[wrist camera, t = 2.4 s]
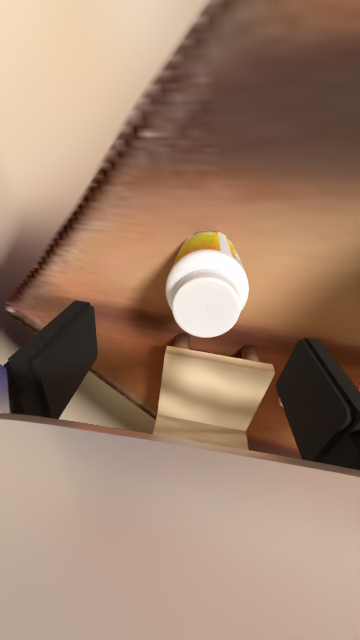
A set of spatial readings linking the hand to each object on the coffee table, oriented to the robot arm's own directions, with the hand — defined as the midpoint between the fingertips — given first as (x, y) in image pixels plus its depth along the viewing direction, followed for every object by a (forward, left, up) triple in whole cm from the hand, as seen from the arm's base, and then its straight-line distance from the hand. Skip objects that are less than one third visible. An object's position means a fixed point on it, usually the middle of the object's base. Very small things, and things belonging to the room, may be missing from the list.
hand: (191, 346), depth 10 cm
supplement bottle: (0, +1, -14) cm, 14 cm away
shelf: (+14, +4, -13) cm, 19 cm away
